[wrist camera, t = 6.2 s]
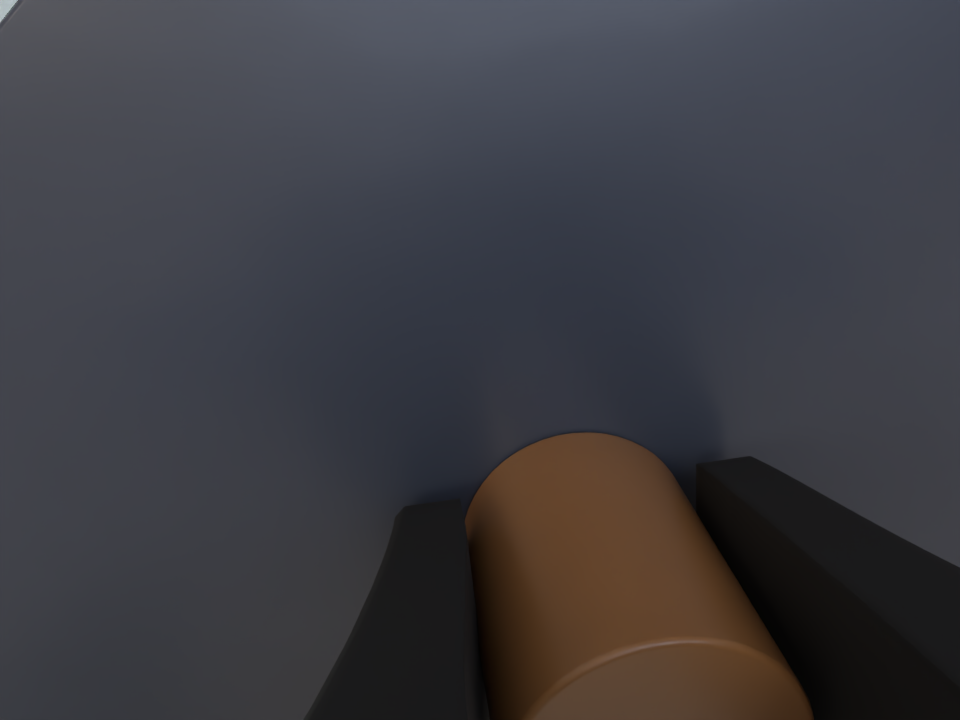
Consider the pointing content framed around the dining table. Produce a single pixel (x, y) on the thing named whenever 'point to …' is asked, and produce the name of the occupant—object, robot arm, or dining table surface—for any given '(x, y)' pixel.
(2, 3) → the dining table surface
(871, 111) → the pan lid
